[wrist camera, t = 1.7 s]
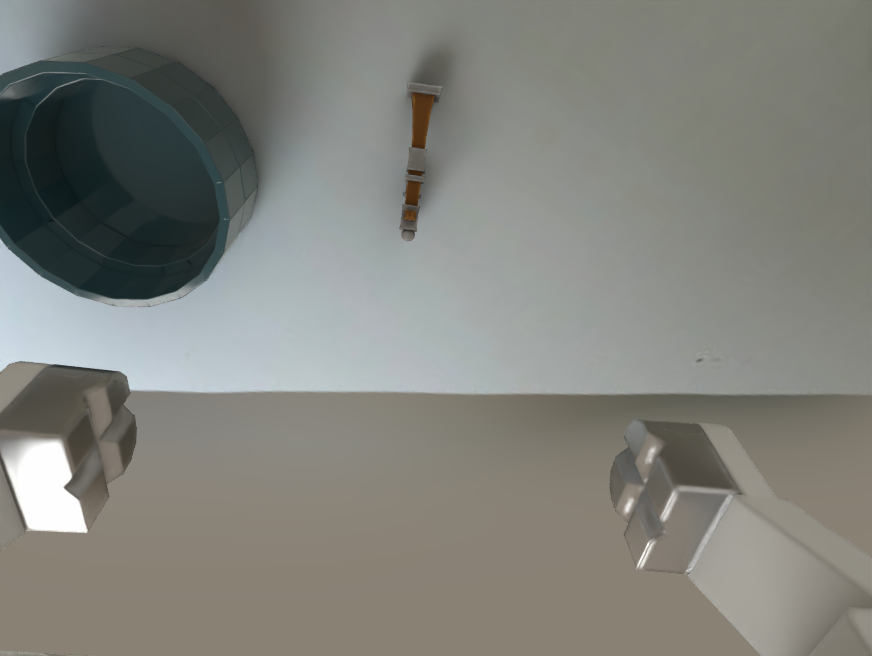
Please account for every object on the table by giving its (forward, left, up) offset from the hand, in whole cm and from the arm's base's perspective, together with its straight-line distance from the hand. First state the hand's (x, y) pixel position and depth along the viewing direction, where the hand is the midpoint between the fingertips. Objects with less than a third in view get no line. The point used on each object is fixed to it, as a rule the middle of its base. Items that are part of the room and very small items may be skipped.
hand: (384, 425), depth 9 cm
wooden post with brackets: (0, +3, -26) cm, 26 cm away
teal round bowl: (+15, +4, -26) cm, 30 cm away
